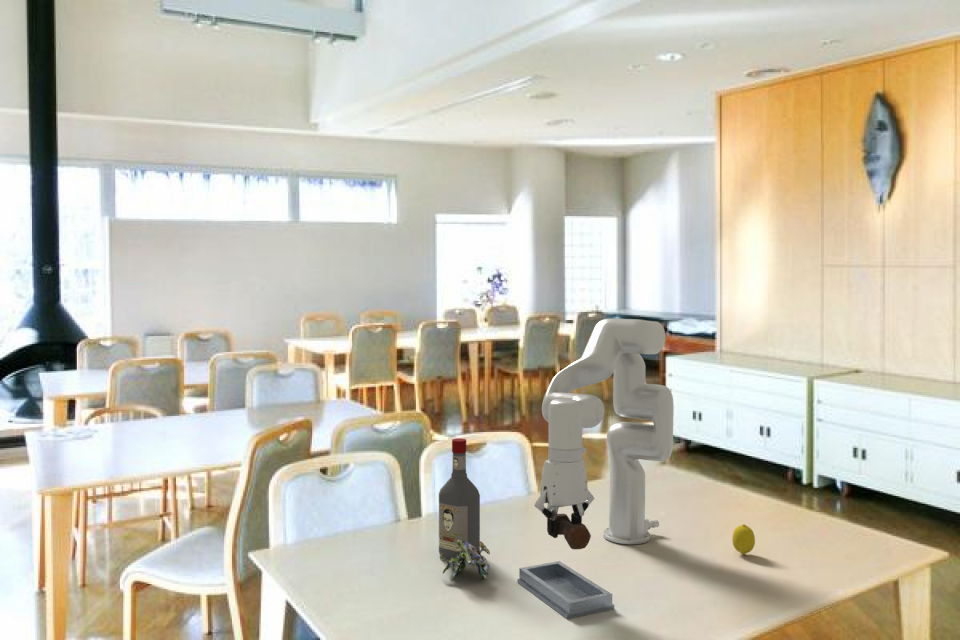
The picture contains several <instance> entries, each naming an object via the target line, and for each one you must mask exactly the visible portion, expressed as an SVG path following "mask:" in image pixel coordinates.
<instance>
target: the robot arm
mask: <svg viewBox="0 0 960 640" xmlns="http://www.w3.org/2000/svg"><path fill="white" fill-rule="evenodd" d="M665 331H666V330H665V328H664V327H663V325H662V324H661V323H660V322H659V321H655V320H654V321H652V320H645V319H636V318H635V319H633V318H604V319H601V320H600V321H598V322H597V323H596V324H595V326H594V328H593V330H592V332H591V334H590V337H589V339H588V341H587V343H586V345H585V348H584V350H583V353H582V355H581V357H580V358H579V359H577V360H576V361H573V362H572V363H570V364H569V365H568V366H566V367H564V368H563V369H561V370H560V371H559V372H557V374H555V376H554V377H553V378H552V379H551V381H550V383H549V385H548V387H547V389H546V392H545V394H544V396H543V400H542V404H541V413H542V416H543V419H544V420H545V421H546V422H547V423H548V445H547V446H548V447H547V448H548V450H547V451H548V456H547V457H548V459H546V460H545V461H544V463H543V468H542V473H541V482H540V491H539V492H540V495H539V497H538V498H537V500H536V501H535V503H534V508H536V509H537V510H538V511H540V513H542V515H544V517H545V518H546V519H547V520H546V522H547V523H546V524H547V525H546V527H547V528H546V529H547V535H549V536H550V537H552V538H553V539H557V538H558V537H559V535H558V521H557V520H556V516H557V514H558V512H559V508H563V507H569V506H571V509H572V511H573V512H571V514H570V517H571V518H570V521H571V523H572V524H583V516H584V515H585V511H587V509H588V508H589V507H590V505H591V504H592V502H593V501H594V500H595V497H594V495H593V494H592V492H591V491H590V490H589V488H588V473H587V468H586V463H585V462H586V461H585V460H584V459H583V457H584V456H583V454H586V453H587V448H586V447H585V446H584V447H583V430H584V429H590V428H594V427H596V426H598V425H599V424H600V423H601V422H602V421H603V419H604V416H605V411H606V410H605V405H604V402H603V401H602V399H601V398H599V397H598V396H595V395H592V394H587V393H586V394H585V393H576V392H574V391H575V390H577V389H580V388H584V387H588V386H592V385H595V384H598V383H601V382H605V381H606V380H608V379H609V378H610V377H612V376H613V381H612V382H613V387H612V388H613V389H612V393H613V394H612V401H613V402H612V404H613V411H614V412H615V414H616V415H618V416H619V417H623V418H629V419H640V420H646V421H647V420H648V421H651V422H652V423H653V424H649V423H641V422H631V421H630V422H629V421H619V422H615V423H613V424H612V425H611V426H610V427H609V428H608V430H607V432H606V445H607V451H608V458H609V509H608V510H609V511H608V512H609V515H608V516H609V518H608V519H609V520H608V521H609V524H608V527H607V528H605V529H604V530H603V532H602V533H603V537H604V539H606V540H607V541H610V542H612V543H615V544H619V545H620V544H621V545H639V544H644V543H645V544H646V542H649V541H650V540H651V533H650V532H649V530H651V528H652V529H653V528H659V526H660V523H659V522H660V521H659V520H657V519H654V520H650V519H648V518H647V519H646V514H645V513H646V473H645V470H644V468H643V466H642V464H641V462H640V460H643V461H652V462H665V461H667V460H669V459H670V458H671V456H672V453H673V447H674V408H675V407H674V396H673V394H672V391H671V389H670V388H669V387H668V386H665V385H662V384H655V383H654V384H653V383H647V380H646V368H647V367H646V363H645V361H644V359H643V357H642V355H657V354H659V353H660V352H661V351H662V350H663V348H664V346H665V343H666V332H665ZM641 354H642V355H641ZM545 504H547V506H546V507H545Z"/></svg>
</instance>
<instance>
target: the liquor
mask: <svg viewBox="0 0 960 640" xmlns="http://www.w3.org/2000/svg"><path fill="white" fill-rule="evenodd" d="M451 452H452V465H451V466H452V471H451V475H450V477H449V479H448V480H447V481H446V483H444V485H443V486H442V487H441V488H440V490H439V491H438V553H439V554H440V553H442V554H443V556H442V557H443V558H445V559H446V560H447V561H450V559H451V558H454V559H455V558H456V556H457V555H458V554H459V555H460V552H461V548H460V547H459V545H458V543H457V541H458V540H461V541H462V543H463V544H464V543H465V541H466V542H467V543H468V542H469V544H471V545H472V546H473V545H474V547H475V548H476V550H477V551H480V550H481V547H480V544H479V542H480V541H481V539H480V537H481V534H480V533H481V525H480V523H481V520H480V519H481V513H480V512H481V502H480V501H481V495H480V492H479V488H478V487H476V485H475V484H474V483H473V482H472V481H471V480H470V479H469V477H468V473H467V457H466V456H467V439H466V438H459V437H458V438H456V437H455V438H452V440H451ZM443 558H442V560H444V559H443ZM446 560H445V561H446Z"/></svg>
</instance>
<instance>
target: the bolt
mask: <svg viewBox="0 0 960 640" xmlns="http://www.w3.org/2000/svg"><path fill="white" fill-rule="evenodd" d="M556 520H557V521H558V536H562V535H563V536H564V537H563V538H564V540H565V541H566V542H567V544H568V547H570V549H571V550H582V549H583V550H584V549H586V547H587V546H588V544H589V542H590V540H591V537H592V535H591V533H590V531H589V529H588V528H587V525H586V524H584V523H582V524H572V523H571V518H569V515H567V514H566V513H557V516H556Z"/></svg>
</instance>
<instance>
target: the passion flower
mask: <svg viewBox="0 0 960 640" xmlns="http://www.w3.org/2000/svg"><path fill="white" fill-rule="evenodd" d="M457 543H458V545H459V547H460V548H461V552H460V555H459V554H458V555H457V556H456V558H455V559H454V558H451V559H450V560H446V559H445V558H443V557H442V556H443V554H442V553H439V559H440V561H442V560H444V561H446V562H447V565H446V566H445V568H443V571H442V575H444V573H446V571H448V570H449V569H450V568H451V567H452V576H451V579H450V582H452V581H453V579H454V578H455V577H456V576H458V574H459V573H460V571H463V570H465V568H466V566H468V565H470V566H475V565H476V567H477V571H478V575H479V576H480V578H481V580H484V581H486V579H487V575H489V572H488V569H489V567H490V566H489V563H487V561H486V557H485V556H484V555H482V552H485V553H487V554H488V555H490V554H491V553H490V549H489V548H487V545H485V544H484V543H483V542H482V541H481V540H480V542H479V544H480V551H477V550H476V548H475V547H474V545H473V546H472V545H471V544H469V542H468V543H467V542H466V541H465V543H464V544H463V543H462V541H461V540H458V541H457ZM442 558H443V559H442Z"/></svg>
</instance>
